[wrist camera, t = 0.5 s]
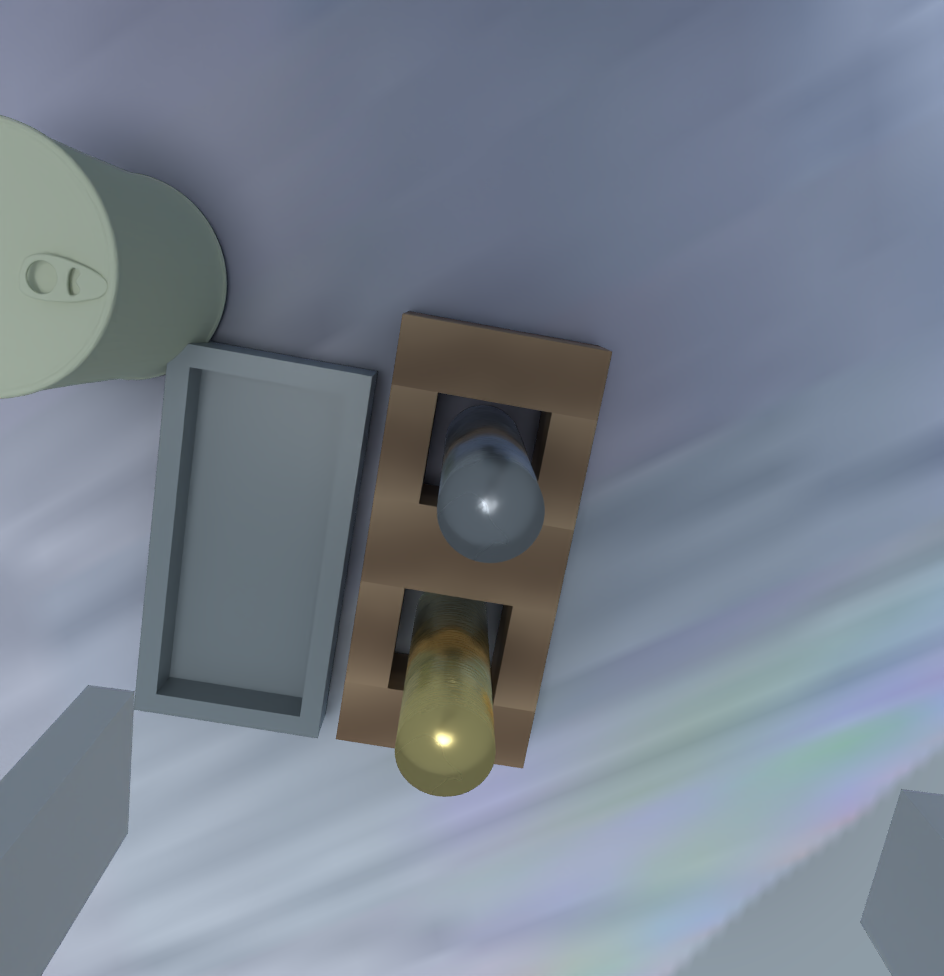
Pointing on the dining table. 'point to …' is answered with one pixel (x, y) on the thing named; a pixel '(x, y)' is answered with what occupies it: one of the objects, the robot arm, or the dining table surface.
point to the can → (96, 268)
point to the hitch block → (416, 533)
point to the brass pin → (447, 698)
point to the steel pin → (488, 488)
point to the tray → (251, 536)
